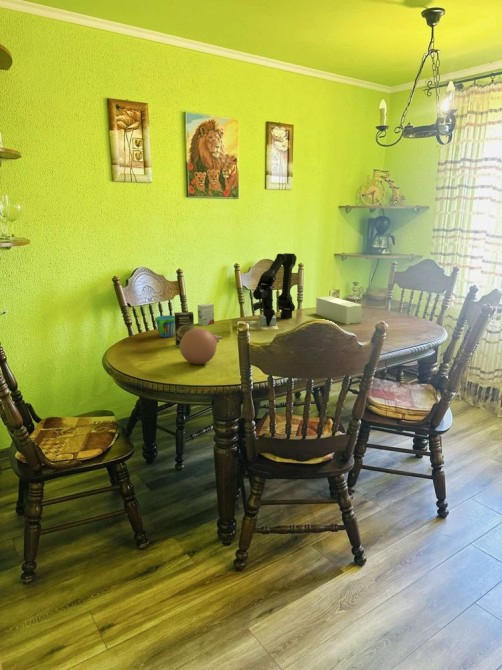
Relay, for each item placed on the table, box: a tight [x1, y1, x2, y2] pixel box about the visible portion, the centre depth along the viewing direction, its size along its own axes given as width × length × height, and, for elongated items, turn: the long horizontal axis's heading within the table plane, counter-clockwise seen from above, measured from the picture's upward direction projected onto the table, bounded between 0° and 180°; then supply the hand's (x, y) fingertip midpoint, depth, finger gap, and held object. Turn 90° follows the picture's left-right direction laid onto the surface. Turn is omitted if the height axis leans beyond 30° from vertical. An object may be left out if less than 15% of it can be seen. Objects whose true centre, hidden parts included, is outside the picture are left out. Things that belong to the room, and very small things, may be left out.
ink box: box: [197, 302, 215, 327], centre depth 259 cm, size 9×5×12 cm, turn 129°
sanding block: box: [258, 315, 277, 326], centre depth 251 cm, size 9×6×4 cm, turn 94°
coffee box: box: [173, 311, 195, 348], centre depth 216 cm, size 9×6×16 cm
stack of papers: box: [315, 295, 363, 325], centre depth 273 cm, size 32×11×11 cm, turn 25°
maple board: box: [236, 320, 280, 331], centre depth 251 cm, size 22×20×2 cm
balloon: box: [179, 327, 223, 365], centre depth 191 cm, size 15×20×15 cm
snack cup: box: [154, 314, 175, 339], centre depth 234 cm, size 16×10×10 cm
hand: (267, 324), depth 252 cm, fingers closed on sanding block, 5 cm apart
